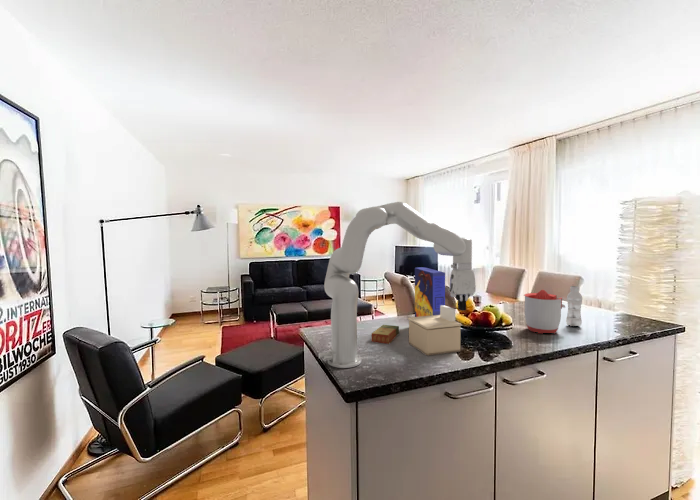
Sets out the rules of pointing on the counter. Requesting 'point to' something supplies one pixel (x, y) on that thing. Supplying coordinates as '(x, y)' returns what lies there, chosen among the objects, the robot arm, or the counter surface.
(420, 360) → the counter surface
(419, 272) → the cereal box
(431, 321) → the box lid
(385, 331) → the carton
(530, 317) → the citrus juicer
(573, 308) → the plastic bottle
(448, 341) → the cardboard box
